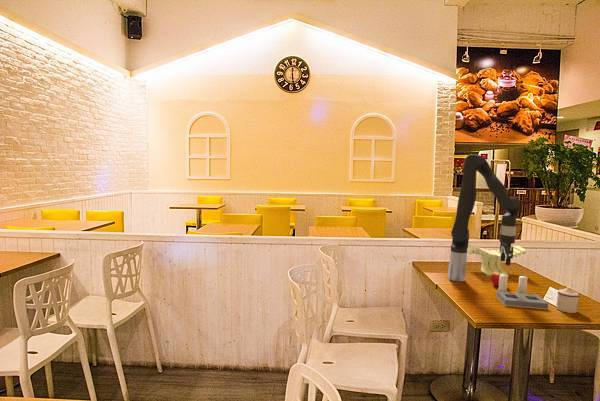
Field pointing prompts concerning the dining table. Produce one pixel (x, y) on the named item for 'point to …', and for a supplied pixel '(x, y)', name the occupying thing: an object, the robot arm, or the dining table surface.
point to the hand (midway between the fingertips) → (505, 263)
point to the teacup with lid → (567, 300)
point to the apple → (496, 278)
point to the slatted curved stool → (492, 258)
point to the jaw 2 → (522, 284)
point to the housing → (522, 300)
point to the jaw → (503, 283)
